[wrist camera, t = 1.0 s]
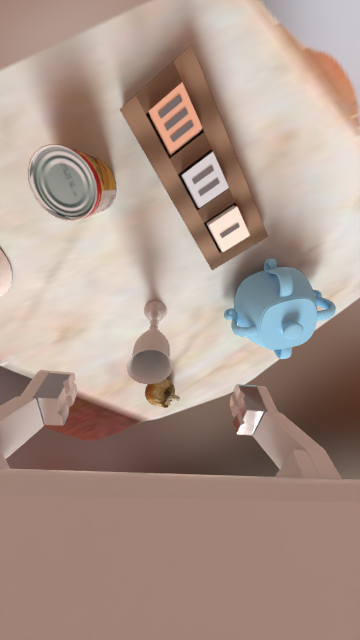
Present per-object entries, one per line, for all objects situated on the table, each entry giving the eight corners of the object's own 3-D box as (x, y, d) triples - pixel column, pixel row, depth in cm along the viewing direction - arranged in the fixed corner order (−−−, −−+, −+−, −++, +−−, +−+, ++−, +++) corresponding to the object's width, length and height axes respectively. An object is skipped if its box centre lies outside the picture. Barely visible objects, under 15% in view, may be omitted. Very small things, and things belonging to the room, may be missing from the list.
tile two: (224, 187, 35) (229, 187, 33) (197, 206, 36) (199, 208, 34) (209, 154, 33) (213, 151, 30) (181, 175, 34) (182, 174, 32)
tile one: (245, 232, 39) (250, 235, 36) (219, 248, 40) (222, 252, 38) (232, 205, 37) (237, 206, 34) (206, 222, 38) (208, 225, 35)
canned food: (79, 143, 34) (41, 125, 24) (125, 180, 37) (108, 178, 27) (59, 190, 37) (18, 192, 27) (102, 221, 40) (80, 234, 30)
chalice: (156, 290, 47) (150, 341, 32) (178, 310, 50) (182, 366, 35) (132, 311, 50) (116, 368, 34) (155, 329, 52) (149, 390, 37)
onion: (156, 367, 58) (155, 391, 52) (181, 379, 61) (182, 404, 54) (141, 384, 61) (137, 409, 54) (164, 395, 64) (164, 420, 57)
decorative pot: (212, 303, 50) (225, 340, 38) (268, 244, 43) (304, 266, 32) (260, 339, 55) (284, 380, 44) (316, 291, 49) (361, 324, 37)
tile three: (199, 132, 32) (202, 127, 29) (170, 155, 33) (170, 152, 30) (181, 90, 29) (182, 81, 27) (150, 116, 31) (148, 110, 28)
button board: (260, 232, 42) (268, 236, 39) (208, 263, 45) (212, 270, 41) (188, 60, 30) (191, 44, 27) (124, 117, 33) (119, 109, 29)
